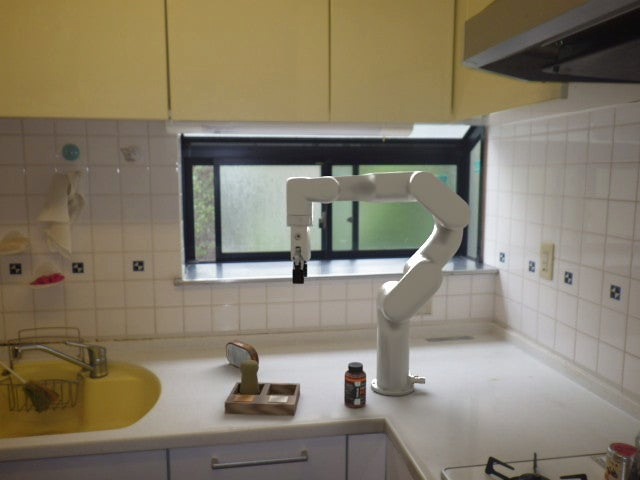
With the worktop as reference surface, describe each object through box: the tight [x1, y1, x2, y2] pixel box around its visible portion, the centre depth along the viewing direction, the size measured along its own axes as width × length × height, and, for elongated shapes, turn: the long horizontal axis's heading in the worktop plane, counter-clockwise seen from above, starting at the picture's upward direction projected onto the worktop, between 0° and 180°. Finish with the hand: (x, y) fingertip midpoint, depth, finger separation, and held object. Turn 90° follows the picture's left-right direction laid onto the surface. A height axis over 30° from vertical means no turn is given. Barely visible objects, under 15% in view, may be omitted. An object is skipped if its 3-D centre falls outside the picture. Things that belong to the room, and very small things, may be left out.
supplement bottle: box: [343, 361, 367, 409], centre depth 141 cm, size 6×6×11 cm
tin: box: [225, 339, 260, 369], centre depth 169 cm, size 15×3×8 cm, turn 45°
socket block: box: [224, 381, 301, 417], centre depth 143 cm, size 18×14×3 cm
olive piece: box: [239, 360, 260, 395], centre depth 145 cm, size 6×6×11 cm
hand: (300, 280), depth 149 cm, fingers open, 9 cm apart
